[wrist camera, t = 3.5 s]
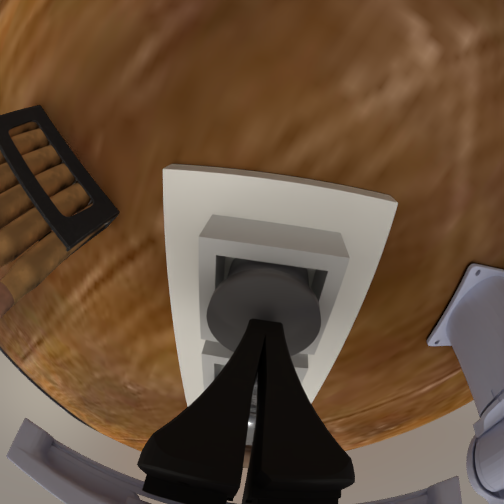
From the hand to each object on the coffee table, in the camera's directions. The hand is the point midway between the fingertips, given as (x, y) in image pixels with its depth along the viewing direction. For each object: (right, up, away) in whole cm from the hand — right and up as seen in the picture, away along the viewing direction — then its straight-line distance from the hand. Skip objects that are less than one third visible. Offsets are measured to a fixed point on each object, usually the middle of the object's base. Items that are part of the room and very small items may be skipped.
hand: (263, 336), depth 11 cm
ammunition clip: (-13, +10, +3) cm, 16 cm away
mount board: (0, -4, +9) cm, 10 cm away
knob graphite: (0, +2, +4) cm, 4 cm away
